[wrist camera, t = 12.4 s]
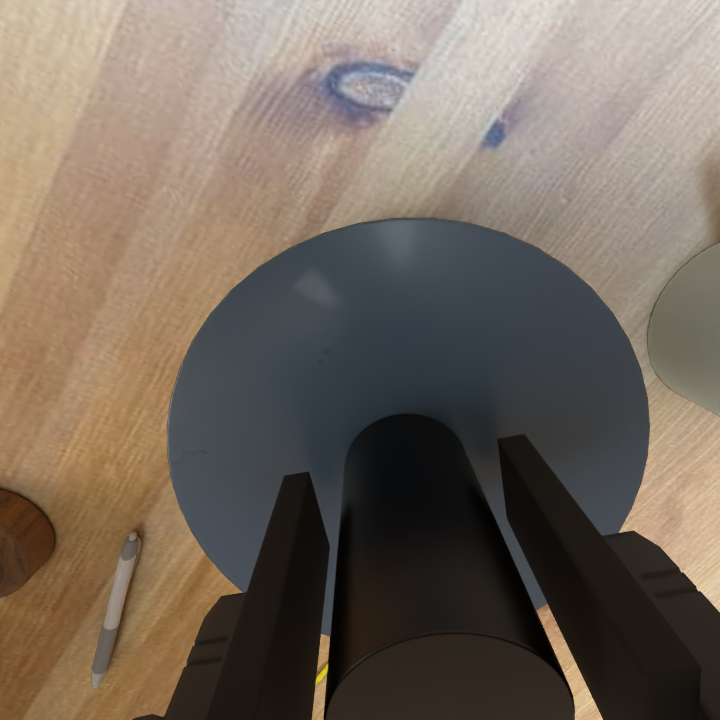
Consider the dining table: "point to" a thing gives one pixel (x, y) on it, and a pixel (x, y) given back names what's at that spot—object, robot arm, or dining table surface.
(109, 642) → the pen
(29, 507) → the mortar and pestle
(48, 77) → the dining table surface
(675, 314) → the mug
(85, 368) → the dining table surface
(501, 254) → the lid
